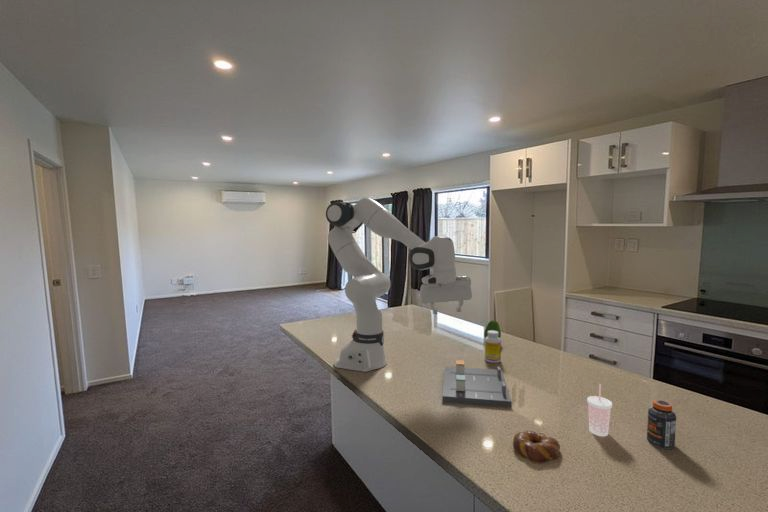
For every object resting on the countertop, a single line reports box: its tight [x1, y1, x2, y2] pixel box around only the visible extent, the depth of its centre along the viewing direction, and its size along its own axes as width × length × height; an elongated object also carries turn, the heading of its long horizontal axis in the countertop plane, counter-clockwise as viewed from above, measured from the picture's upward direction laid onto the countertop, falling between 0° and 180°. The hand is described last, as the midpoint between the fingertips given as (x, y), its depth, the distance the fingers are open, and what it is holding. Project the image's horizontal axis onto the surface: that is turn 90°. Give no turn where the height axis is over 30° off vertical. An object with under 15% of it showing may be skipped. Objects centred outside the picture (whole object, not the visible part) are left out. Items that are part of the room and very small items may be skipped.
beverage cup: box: [586, 383, 613, 437], centre depth 100 cm, size 6×6×14 cm
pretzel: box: [512, 430, 561, 464], centre depth 93 cm, size 12×11×4 cm
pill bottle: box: [646, 399, 677, 450], centre depth 95 cm, size 6×6×11 cm
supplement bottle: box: [484, 330, 502, 364], centre depth 155 cm, size 7×7×13 cm
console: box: [442, 366, 513, 408], centre depth 130 cm, size 22×26×5 cm
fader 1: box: [455, 359, 465, 375], centre depth 138 cm, size 3×4×4 cm
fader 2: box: [456, 375, 465, 391], centre depth 124 cm, size 3×4×4 cm
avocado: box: [483, 320, 502, 339], centre depth 177 cm, size 8×8×12 cm
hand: (446, 312), depth 139 cm, fingers open, 8 cm apart
